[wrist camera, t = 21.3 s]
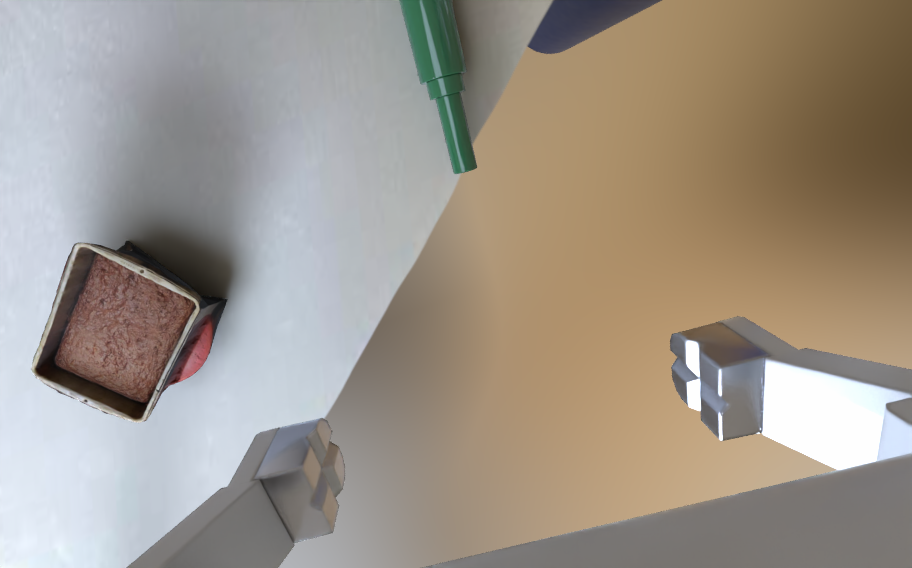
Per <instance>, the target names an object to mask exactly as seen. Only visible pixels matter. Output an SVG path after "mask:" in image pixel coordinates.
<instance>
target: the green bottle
mask: <svg viewBox="0 0 912 568" xmlns="http://www.w3.org/2000/svg"><path fill="white" fill-rule="evenodd" d="M399 1H400V5H401V9H402V13H403V17H404V21H405V25H406V29H407V33H408V37H409V41H410V44H411V48H412V52H413V56H414V60H415V64H416V68H417V72H418V76H419V80H420V84H421V85H425V84H426V85H427V89H428V93H429V97H430V100H436V103H437V107H438V111H439V116H440V120H441V124H442V128H443V132H444V136H445V140H446V144H447V148H448V152H449V156H450V160H451V164H452V168H453V172H454V174H459V173H464V172H468V171H471V170H474V169H476V168H477V164H476V160H475V155H474V151H473V146H472V142H471V137H470V133H469V128H468V124H467V119H466V115H465V111H464V106H463V102H462V97H461V92H464V91H465V86H464V81H463V77H462V74H464V73H466V72H467V69H466V65H465V60H464V55H463V51H462V46H461V41H460V37H459V32H458V27H457V23H456V18H455V14H454V9H453V4H452V0H399Z"/></svg>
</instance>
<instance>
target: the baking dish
mask: <svg viewBox="0 0 912 568" xmlns="http://www.w3.org/2000/svg"><path fill="white" fill-rule="evenodd" d="M226 302H227V299H224V298H216V297H209V296H201V295H199V294H198V293H197V292H196V291H195V290H193V289H192V288H191V287H190V286H189V285H188V284H186V283H185V282H184V281H182V280H181V279H180V278H178V277H177V276H176V275H174V274H173V273H172V272H170V271H169V270H168V269H166V268H165V267H164V266H162V265H161V264H160V263H158V262H157V261H156V260H154V259H153V258H152V257H150V256H149V255H148V254H146V253H145V252H143V251H142V250H140V249H139V248H138V247H136V246H135V245H133V244H132V243H130V242H129V241H126V242H125V245H123V246H122V247H121V248H119V249H118V250H117V251H115V250H113V249H110V248H107V247H104V246H101V245H97V244H90V243H76V244H74V246H73V247H72V251H71V253H70V255H69V256H68V259H67V262H66V265H65V268H64V271H63V274H62V277H61V280H60V283H59V286H58V289H57V294H56V297H55V300H54V302H53V306H52V311H51V314H50V316H49V319H48V322H47V324H46V326H45V330H44V332H43V334H42V338H41V341H40V345H39V347H38V349H37V351H36V353H35V355H34V359H33V363H32V368H31V370H32V372H33V374H34V375H35V376H36V378H37V379H39V380H41V381H42V382H43V383H44V384H46V385H47V386H49V387H51V388H53V389H55V390H56V391H58V392H59V393H61V394H64V395H66V396H69V397H71V398H73V399H77V400H79V401H80V402H82V403H84V404H86V405H88V406H90V407H93V408H95V409H98V410H101V411H103V412H104V413H106V414H111V415H115V416H117V417H120V418H123V419H126V420H130V421H132V422H138V423H141V422H143V421H146V420H147V419H148V417H149V416H150V415H151V412H152V410H153V409H154V407H155V405H156V403H157V401H158V399H159V397H160V396H161V394H162V392H163V391H164V390H165V389H166V388H167V387H168V386H170V385H172V384H175V383H177V382H180V381H183V380H185V379H186V378H188V377H190V376H192V375H193V374H194V373H196V372H197V371H198V370H199V369H200V368H201V367H202V365H203V364H204V362H205V361H206V359H207V357H208V354H209V353H210V349H211V346H212V342H213V339H214V335H215V332H216V329H217V325H218V323H219V320H220V318H221V315H222V313H223V310H224V308H225V305H226Z"/></svg>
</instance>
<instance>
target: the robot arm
mask: <svg viewBox="0 0 912 568" xmlns="http://www.w3.org/2000/svg"><path fill="white" fill-rule="evenodd" d="M670 349H671V351H672V352H673V353H674V354H675V355H676V356H677V359H676V361H675V362H674V363H673V365H672V367H671V368H672V378H673V382H674V384H675V387H676V390H677V392H678V394H679V395H680V397H681V399H682V400H683V401H684V402H685V403H686V404H687V405H688V406H689V407H691V408H694V409H696V410H699V411H701V421H702V422H703V423H704V424H705V425H706V426H707V427H708V428H709V429H710V430H711V431H712V432H713V433H714V434H715V435H716V436H717V437H718V439H719V440H721V441H724V440H729V439H734V438H739V437H743V436H748V435H753V434H758V433H763V435H765V436H767V437H769V438H771V439H773V440H775V441H777V442H780V443H782V444H784V445H786V446H788V447H790V448H792V449H794V450H797V451H799V452H801V453H803V454H805V455H808V456H809V457H811V458H814V459H816V460H818V461H820V462H822V463H824V464H826V465H828V466H831V467H833V468H835V469H837V471H833V472H828V473H824V474H820V475H816V476H811V477H807V478H803V479H799V480H795V481H790V482H786V483H782V484H778V485H774V486H769V487H765V488H761V489H756V490H752V491H748V492H743V493H739V494H735V495H731V496H726V497H722V498H718V499H713V500H709V501H704V502H700V503H696V504H692V505H687V506H683V507H679V508H674V509H670V510H666V511H661V512H657V513H653V514H649V515H644V516H640V517H635V518H632V519H627V520H623V521H618V522H614V523H610V524H605V525H601V526H597V527H592V528H589V529H584V530H580V531H575V532H571V533H567V534H563V535H558V536H554V537H550V538H546V539H541V540H538V541H533V542H529V543H525V544H520V545H516V546H512V547H508V548H503V549H499V550H495V551H491V552H486V553H482V554H478V555H474V556H469V557H465V558H461V559H456V560H452V561H448V562H444V563H439V564H435V565H431V566H426V567H422V568H912V370H911V369H906V368H901V367H896V366H891V365H886V364H881V363H876V362H872V361H867V360H862V359H857V358H852V357H847V356H842V355H837V354H832V353H827V352H822V351H817V350H813V349H807V348H804V349H800V350H798V349H796V348H794V347H792V346H791V345H789V344H788V343H786V342H785V341H783V340H781V339H780V338H778V337H776V336H775V335H773V334H771V333H770V332H768V331H766V330H765V329H763V328H761V327H760V326H758V325H756V324H755V323H753V322H751V321H750V320H748V319H746V318H745V317H739V316H737V317H733V318H730V319H726V320H722V321H719V322H716V323H713V324H709V325H705V326H701V327H698V328H693V329H690V330H686V331H682V332H678V333H674V334H672V336H671V339H670ZM331 435H332V430H331V428H330V426H329V424H328V422H327V420H325V419H323V418H320V419H316V420H311V421H307V422H302V423H298V424H293V425H289V426H284V427H281V428H275V429H271V430H267V431H263V432H260V433H259V434H257V435H256V436H255V438H254V440H253V442H252V443H251V445H250V447H249V449H248V451H247V452H246V454H245V456H244V458H243V460H242V462H241V463H240V465H239V467H238V469H237V471H236V473H235V474H234V476H233V478H232V480H231V482H230V484H229V485H228V487H225V488H221V489H220V490H218V491H217V492H216V493H215V494H214V495H212V496H211V497H210V498H209V499H208V500H206V501H205V502H204V503H203V504H202V505H200V506H199V507H198V508H197V509H196V510H195V511H193V512H192V513H191V514H190V515H189V516H187V517H186V518H185V519H184V520H183V521H181V522H180V523H179V524H178V525H177V526H175V527H174V528H173V529H172V530H171V531H170V532H168V533H167V534H166V535H165V536H164V537H162V538H161V539H160V540H159V541H158V542H156V543H155V544H154V545H153V546H152V547H150V548H149V549H148V550H147V551H146V552H145V553H143V554H142V555H141V556H140V557H139V558H137V559H136V560H135V561H134V562H133V563H131V564H130V565H129V566H128V567H127V568H278V567H279V566H280V565H281V563H282V562H283V560H284V559H285V558H286V556H287V555H288V554H289V552H290V551H291V549H292V548H293V547H294V543H297V542H301V541H304V540H307V539H312V538H315V537H319V536H323V535H327V534H330V533H333V531H334V526H335V522H336V517H337V513H338V509H339V504H338V502H337V500H336V496H337V495H338V494H339V493H340V492H341V490H342V489H343V486H344V481H345V464H344V460H343V456H342V453H341V451H340V448H339V447H338V446H337V445H335V444H333V443H332V442H330V439H331Z"/></svg>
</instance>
